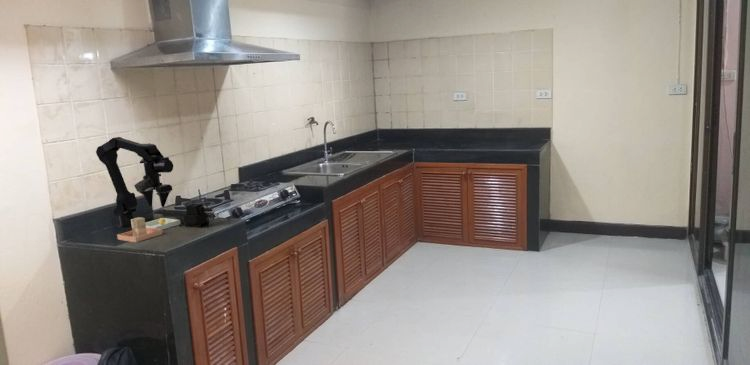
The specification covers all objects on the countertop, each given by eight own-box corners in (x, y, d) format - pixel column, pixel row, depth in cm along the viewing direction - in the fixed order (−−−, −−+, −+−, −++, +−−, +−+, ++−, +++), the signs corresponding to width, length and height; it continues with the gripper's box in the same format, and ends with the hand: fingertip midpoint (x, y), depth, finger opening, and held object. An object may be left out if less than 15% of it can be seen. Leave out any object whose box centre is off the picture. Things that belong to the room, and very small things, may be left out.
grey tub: (138, 230, 272) (138, 224, 272) (163, 222, 282) (162, 217, 282) (156, 232, 265) (155, 227, 264) (180, 225, 275) (179, 219, 275)
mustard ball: (157, 225, 277) (156, 218, 276) (163, 223, 279) (162, 217, 279) (161, 225, 275) (160, 219, 274) (167, 223, 277) (166, 217, 277)
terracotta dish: (118, 240, 256) (117, 234, 256) (144, 232, 266) (143, 227, 266) (136, 243, 249) (135, 237, 248) (162, 235, 259) (161, 229, 259)
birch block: (133, 237, 257) (130, 219, 256) (141, 235, 260) (138, 217, 259) (139, 238, 255) (136, 220, 253) (147, 235, 258) (144, 217, 256)
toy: (208, 229, 263) (205, 207, 261) (183, 228, 269) (180, 206, 267) (219, 225, 270) (216, 203, 268) (194, 224, 276) (191, 203, 274)
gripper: (123, 175, 268) (128, 209, 270) (149, 176, 257) (154, 211, 260) (145, 170, 277) (149, 203, 279) (170, 172, 266) (175, 206, 269)
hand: (156, 206), depth 272 cm, fingers open, 9 cm apart
